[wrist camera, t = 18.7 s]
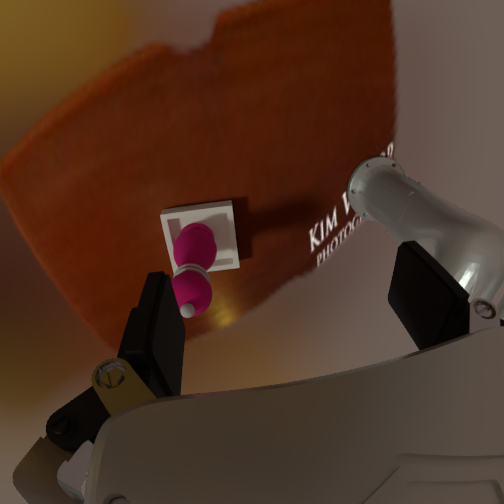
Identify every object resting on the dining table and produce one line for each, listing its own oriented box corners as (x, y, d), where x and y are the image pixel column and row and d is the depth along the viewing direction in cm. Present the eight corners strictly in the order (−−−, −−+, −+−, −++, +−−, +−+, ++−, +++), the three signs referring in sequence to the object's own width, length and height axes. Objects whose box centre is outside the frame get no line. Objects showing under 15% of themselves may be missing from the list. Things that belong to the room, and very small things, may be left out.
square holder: (231, 200, 49) (232, 205, 47) (238, 260, 55) (239, 267, 53) (162, 209, 49) (160, 214, 47) (176, 267, 55) (174, 275, 53)
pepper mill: (174, 252, 52) (156, 331, 35) (179, 216, 49) (159, 286, 32) (213, 259, 54) (211, 339, 36) (220, 223, 50) (222, 296, 33)
